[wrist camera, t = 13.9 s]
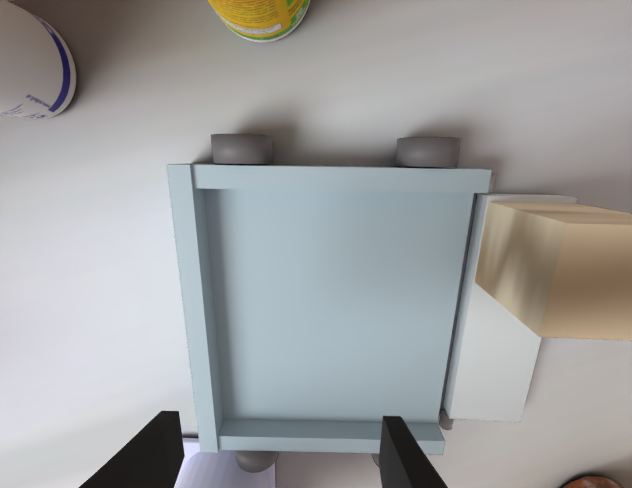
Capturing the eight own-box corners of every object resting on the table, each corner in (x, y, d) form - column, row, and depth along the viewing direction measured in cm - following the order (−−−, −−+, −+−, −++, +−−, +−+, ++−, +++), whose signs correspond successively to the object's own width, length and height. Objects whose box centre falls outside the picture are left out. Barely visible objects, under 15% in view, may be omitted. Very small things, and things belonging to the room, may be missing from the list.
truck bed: (444, 436, 24) (463, 477, 21) (216, 431, 24) (201, 471, 21) (494, 142, 18) (531, 138, 14) (188, 137, 18) (160, 132, 15)
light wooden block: (557, 284, 18) (660, 341, 13) (474, 281, 19) (539, 336, 13) (577, 203, 17) (703, 226, 11) (488, 201, 17) (567, 223, 12)
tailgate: (441, 402, 23) (508, 405, 23) (449, 418, 22) (520, 422, 21) (475, 192, 19) (557, 194, 18) (487, 195, 17) (577, 197, 17)
